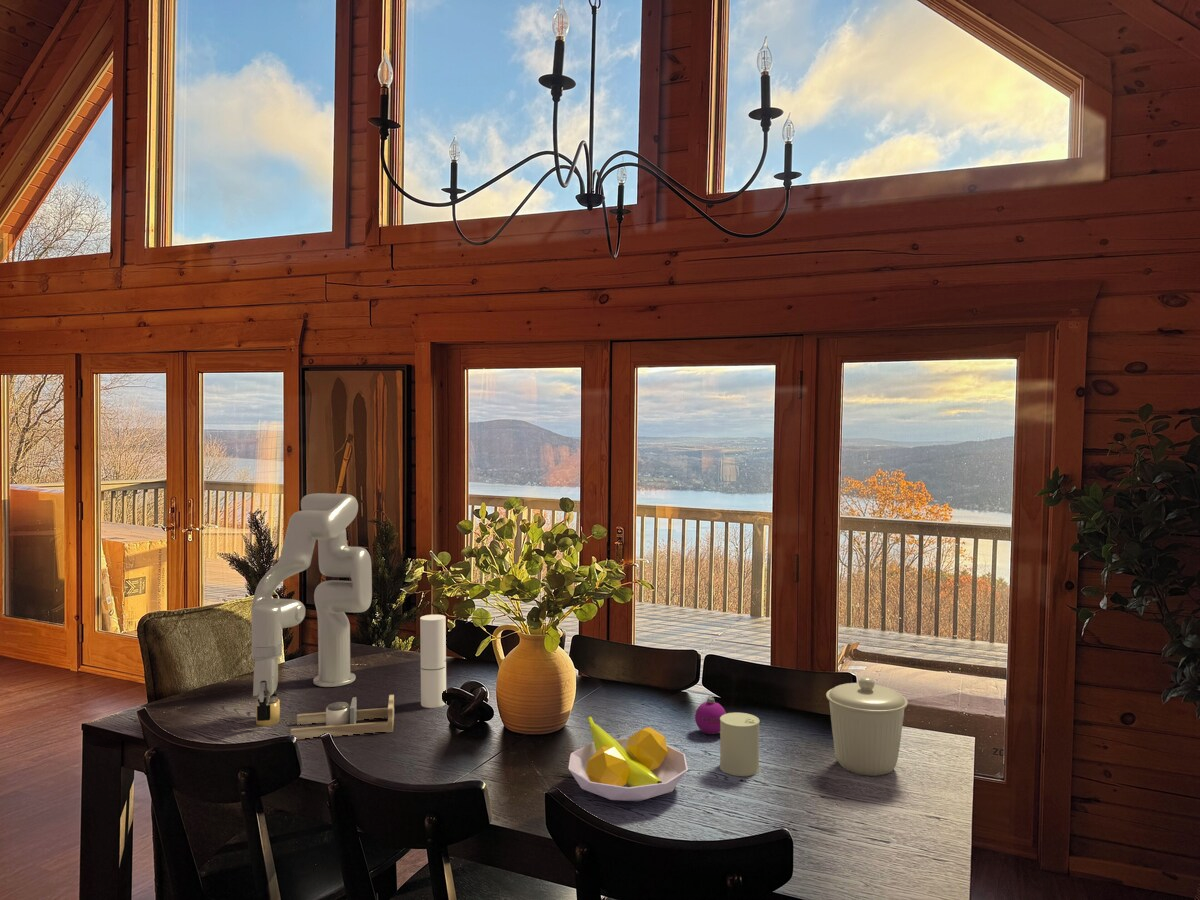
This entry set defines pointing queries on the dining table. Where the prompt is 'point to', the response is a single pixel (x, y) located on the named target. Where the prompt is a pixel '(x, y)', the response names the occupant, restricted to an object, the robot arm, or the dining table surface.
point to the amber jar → (271, 712)
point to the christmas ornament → (709, 716)
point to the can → (739, 744)
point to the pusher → (353, 711)
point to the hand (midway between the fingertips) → (267, 714)
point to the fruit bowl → (627, 765)
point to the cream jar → (338, 714)
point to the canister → (866, 726)
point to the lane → (347, 728)
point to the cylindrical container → (433, 660)
